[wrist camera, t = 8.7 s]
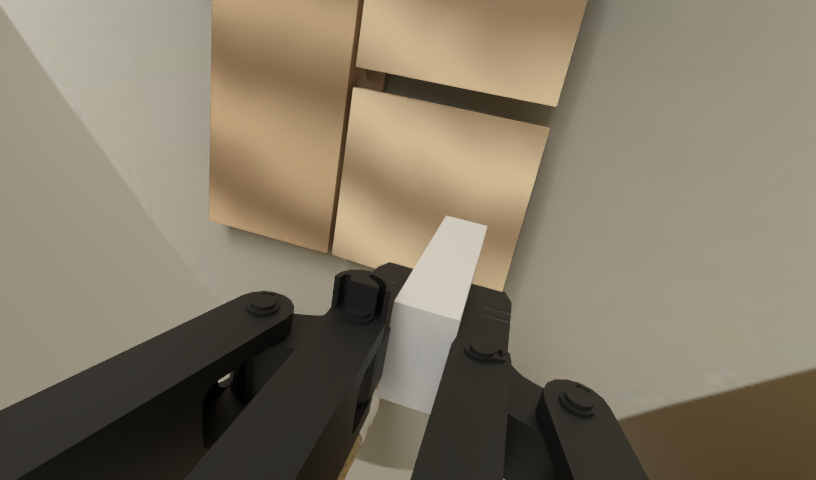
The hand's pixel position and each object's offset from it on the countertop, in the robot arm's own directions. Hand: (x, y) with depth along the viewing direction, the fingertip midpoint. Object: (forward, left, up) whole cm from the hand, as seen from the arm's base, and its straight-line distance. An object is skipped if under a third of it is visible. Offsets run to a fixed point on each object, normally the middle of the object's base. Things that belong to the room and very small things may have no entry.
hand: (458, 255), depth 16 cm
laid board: (-5, -12, -9) cm, 16 cm away
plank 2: (0, -3, -8) cm, 9 cm away
